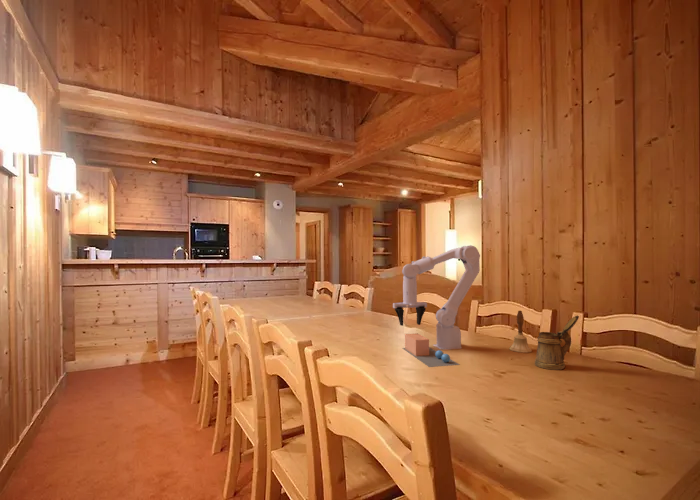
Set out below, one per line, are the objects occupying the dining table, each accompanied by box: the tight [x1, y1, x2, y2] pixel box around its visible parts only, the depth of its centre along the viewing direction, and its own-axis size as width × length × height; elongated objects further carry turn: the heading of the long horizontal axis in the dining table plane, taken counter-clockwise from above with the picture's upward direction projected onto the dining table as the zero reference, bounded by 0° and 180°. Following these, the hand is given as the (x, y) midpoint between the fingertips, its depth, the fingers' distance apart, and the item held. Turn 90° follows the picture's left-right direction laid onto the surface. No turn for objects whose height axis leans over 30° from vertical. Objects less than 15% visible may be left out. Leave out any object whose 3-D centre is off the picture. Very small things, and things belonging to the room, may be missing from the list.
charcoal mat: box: [402, 346, 461, 368], centre depth 133 cm, size 12×26×1 cm, turn 12°
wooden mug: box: [534, 315, 580, 371], centre depth 121 cm, size 9×14×18 cm, turn 68°
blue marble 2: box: [441, 353, 451, 363], centre depth 125 cm, size 3×3×3 cm
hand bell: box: [509, 310, 533, 354], centre depth 144 cm, size 8×8×16 cm
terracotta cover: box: [404, 333, 430, 356], centre depth 139 cm, size 5×11×6 cm, turn 13°
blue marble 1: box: [435, 349, 445, 359], centre depth 130 cm, size 3×3×3 cm
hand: (410, 324), depth 148 cm, fingers open, 7 cm apart
